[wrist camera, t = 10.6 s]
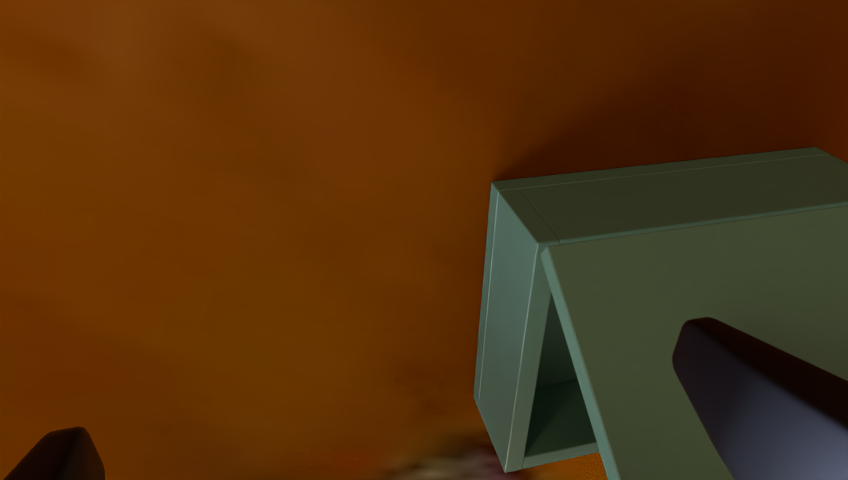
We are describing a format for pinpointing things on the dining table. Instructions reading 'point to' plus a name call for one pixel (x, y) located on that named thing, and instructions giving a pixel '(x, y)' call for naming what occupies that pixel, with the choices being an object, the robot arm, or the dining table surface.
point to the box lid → (684, 300)
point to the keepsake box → (588, 220)
